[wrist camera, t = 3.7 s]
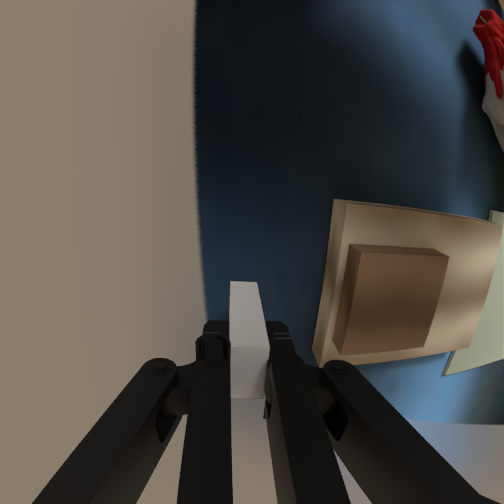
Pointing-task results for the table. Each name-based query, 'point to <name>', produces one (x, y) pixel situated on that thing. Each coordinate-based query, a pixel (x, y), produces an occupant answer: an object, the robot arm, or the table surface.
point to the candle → (493, 68)
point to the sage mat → (486, 320)
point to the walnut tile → (388, 298)
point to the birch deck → (419, 236)
